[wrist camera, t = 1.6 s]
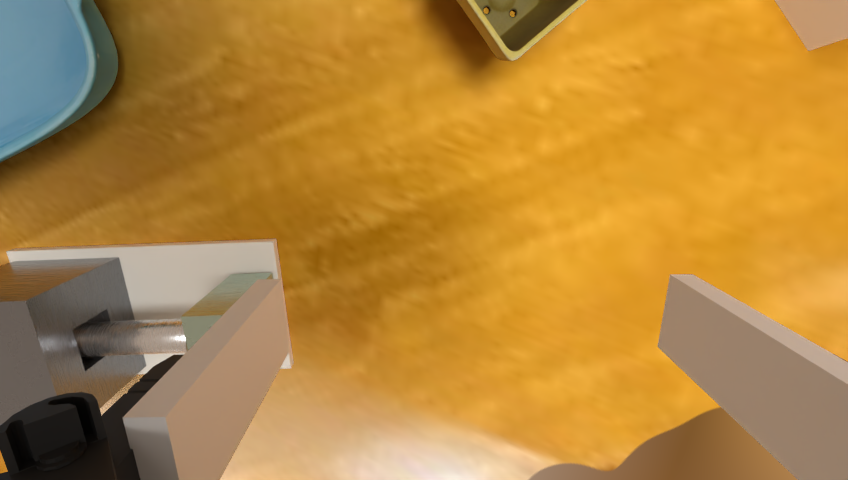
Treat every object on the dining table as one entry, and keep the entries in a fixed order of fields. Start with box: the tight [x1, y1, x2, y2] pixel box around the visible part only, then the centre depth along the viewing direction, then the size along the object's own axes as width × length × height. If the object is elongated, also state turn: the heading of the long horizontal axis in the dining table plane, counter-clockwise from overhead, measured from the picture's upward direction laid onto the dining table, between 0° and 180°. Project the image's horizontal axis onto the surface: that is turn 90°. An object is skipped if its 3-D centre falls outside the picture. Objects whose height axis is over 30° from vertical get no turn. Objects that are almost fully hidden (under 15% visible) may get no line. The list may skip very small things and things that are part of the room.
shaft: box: [73, 273, 273, 357], centre depth 37 cm, size 18×8×9 cm, turn 92°
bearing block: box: [0, 257, 146, 425], centre depth 37 cm, size 10×12×10 cm
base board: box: [6, 239, 294, 374], centre depth 42 cm, size 26×14×1 cm, turn 92°
